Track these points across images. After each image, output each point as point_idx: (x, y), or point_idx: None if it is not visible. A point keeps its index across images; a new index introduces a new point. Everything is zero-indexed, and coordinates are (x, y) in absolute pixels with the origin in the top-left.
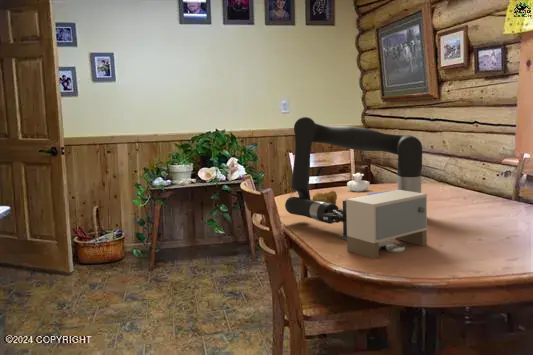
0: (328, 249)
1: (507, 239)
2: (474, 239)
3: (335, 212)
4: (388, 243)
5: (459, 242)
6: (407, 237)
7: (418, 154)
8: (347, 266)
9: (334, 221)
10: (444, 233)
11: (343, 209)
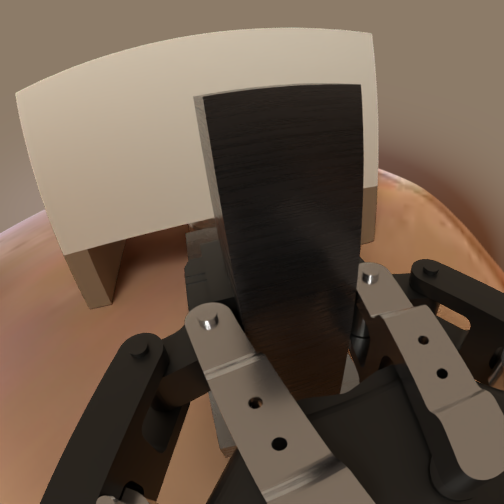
0: (441, 263)
1: (5, 238)
2: (21, 247)
3: (456, 357)
4: (212, 231)
5: (53, 239)
6: (114, 251)
7: None
8: (388, 182)
9: (442, 321)
10: None
11: (353, 218)
